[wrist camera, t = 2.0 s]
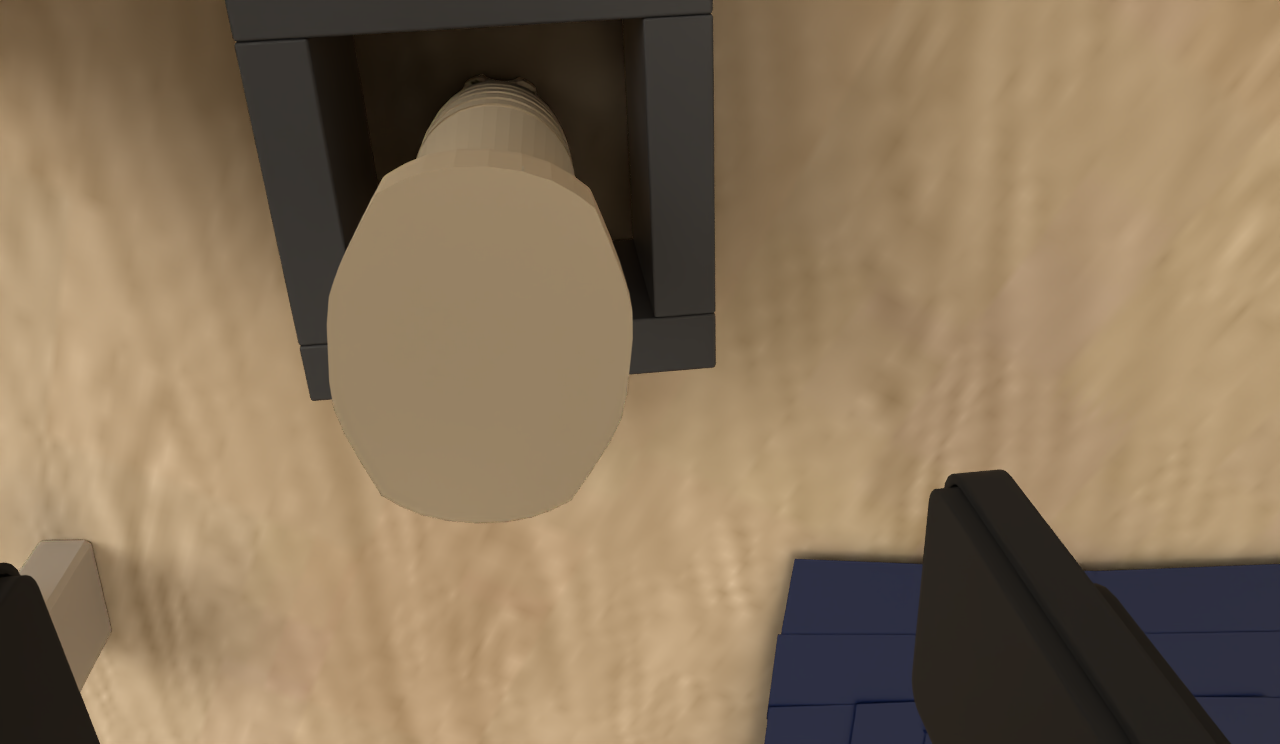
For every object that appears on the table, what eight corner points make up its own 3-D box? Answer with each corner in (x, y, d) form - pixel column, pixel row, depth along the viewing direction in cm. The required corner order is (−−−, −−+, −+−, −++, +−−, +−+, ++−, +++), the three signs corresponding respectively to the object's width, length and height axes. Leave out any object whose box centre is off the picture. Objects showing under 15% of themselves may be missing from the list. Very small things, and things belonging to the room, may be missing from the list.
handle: (591, 18, 29) (649, 176, 16) (575, 236, 32) (613, 525, 19) (414, 3, 28) (319, 154, 15) (414, 227, 31) (335, 520, 18)
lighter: (112, 634, 37) (15, 824, 30) (61, 636, 37) (-50, 827, 30) (72, 464, 34) (-47, 632, 27) (16, 465, 33) (-120, 634, 26)
